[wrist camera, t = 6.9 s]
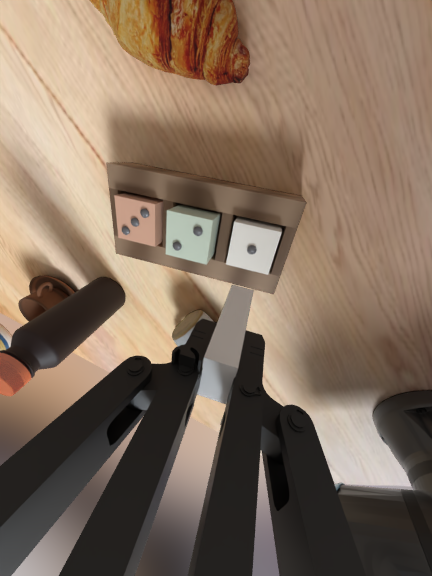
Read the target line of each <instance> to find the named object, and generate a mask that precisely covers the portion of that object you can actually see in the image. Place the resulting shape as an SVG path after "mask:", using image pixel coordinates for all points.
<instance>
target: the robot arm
mask: <svg viewBox="0 0 432 576" xmlns="http://www.w3.org/2000/svg"><path fill="white" fill-rule="evenodd" d="M253 291H254V290H250V289H247V288H243V287H239V286H235V285H232V286H231V289H230V291H229V294H228V296H227V299H226V302H225V304H224V307H223V309H222V312H221V315H220V317H219V320H218V322H217V323H216V322H213V321H210V320H206V319H201V320H200V321H198V322H197V323H196V325H195V327H194V329H193V330H192V332H191V334H190V336H189V338H188V340H187V342H186V344H184V345H180V346H178V347H176V348H175V349H174V350H173V351H172V362H170V363H167V364H151V361H150V360H149V359H148V358H146V357H143V356H133V357H130V358H128V359H126V360H125V361H124V362H122V363H121V364H120V365H119V366H118V367H116V368H115V369H114V370H113V371H112V372H111V373H109V374H108V375H107V376H106V377H105V378H104V379H103V380H101V381H100V382H99V383H98V384H97V385H95V386H94V387H93V388H92V389H91V390H90V391H88V392H87V393H86V394H85V395H83V396H82V397H81V398H80V399H79V400H78V401H76V402H75V403H74V404H73V405H72V406H71V407H69V408H68V409H67V410H66V411H65V412H63V413H62V414H61V415H60V416H59V417H58V418H56V419H55V420H54V421H53V422H52V423H50V424H49V425H48V426H47V427H46V428H44V429H43V430H42V431H41V432H40V433H39V434H37V435H36V436H35V437H34V438H33V439H32V440H30V441H29V442H28V443H27V444H26V445H25V446H23V447H22V448H21V449H20V450H19V451H17V452H16V453H15V454H14V455H13V456H11V457H10V458H9V459H8V460H7V461H6V462H4V463H3V464H2V465H1V466H0V576H11V575H12V574H13V573H14V572H15V570H16V569H17V568H18V567H19V566H20V564H21V563H22V562H23V561H24V559H25V558H26V557H27V556H28V555H29V553H30V552H31V551H32V550H33V549H34V548H35V546H36V545H37V544H38V542H39V541H40V540H41V539H42V538H43V536H44V535H45V534H46V533H47V532H48V531H49V529H50V528H51V527H52V526H53V525H54V523H55V522H56V521H57V520H58V519H59V517H60V516H61V515H62V514H63V512H64V511H65V510H66V509H67V507H68V506H69V505H70V504H71V503H72V501H73V500H74V499H75V498H76V496H78V494H79V493H80V492H81V491H82V490H83V488H84V487H85V486H86V485H87V483H88V482H89V481H90V480H91V479H92V477H93V476H94V475H95V474H96V473H97V471H98V470H99V469H100V468H101V467H102V465H103V464H104V463H105V462H106V461H107V459H108V458H109V457H110V456H111V455H112V453H113V452H114V451H115V450H116V449H117V447H118V446H119V445H120V444H121V442H122V441H123V440H124V439H125V438H126V436H127V435H128V434H129V433H130V431H131V430H132V429H133V428H134V427H135V425H136V424H137V423H138V422H139V421H140V420H141V418H142V417H143V416H144V417H143V419H142V420H141V422H140V424H139V426H138V428H137V430H136V432H135V434H134V435H133V437H132V439H131V441H130V443H129V445H128V447H127V449H126V451H125V453H124V454H123V456H122V458H121V460H120V462H119V464H118V465H117V467H116V469H115V471H114V473H113V475H112V477H111V479H110V480H109V482H108V484H107V486H106V488H105V490H104V492H103V494H102V496H101V497H100V499H99V501H98V503H97V505H96V507H95V509H94V510H93V512H92V514H91V516H90V518H89V520H88V522H87V524H86V525H85V527H84V529H83V531H82V533H81V535H80V537H79V539H78V540H77V542H76V544H75V546H74V548H73V550H72V552H71V554H70V556H69V557H68V559H67V561H66V563H65V565H64V567H63V569H62V571H61V572H60V575H59V576H135V573H136V570H137V567H138V564H139V562H140V559H141V556H142V553H143V550H144V547H145V544H146V541H147V539H148V536H149V533H150V530H151V527H152V524H153V521H154V518H155V515H156V513H157V510H158V507H159V504H160V501H161V498H162V496H163V492H164V490H165V487H166V484H167V481H168V478H169V475H170V473H171V470H172V467H173V464H174V461H175V458H176V455H177V452H178V450H179V447H180V444H181V441H182V438H183V435H184V432H185V429H186V427H187V424H188V421H189V418H190V415H191V412H192V409H193V406H194V401H195V398H196V395H197V394H198V395H200V396H203V397H206V398H209V399H212V400H215V401H218V402H221V403H224V404H226V408H225V412H224V415H223V418H222V421H221V424H220V425H221V428H220V432H219V437H218V441H217V446H216V450H215V455H214V460H213V464H212V468H211V473H210V477H209V482H208V486H207V491H206V495H205V500H204V504H203V509H202V514H201V518H200V522H199V527H198V531H197V535H196V540H195V545H194V549H193V554H192V558H191V562H190V567H189V572H188V576H252V568H253V552H254V538H255V522H256V508H257V493H258V478H259V477H258V476H259V462H260V450H262V456H263V463H264V470H265V477H266V484H267V491H268V498H269V505H270V511H271V519H272V525H273V532H274V539H275V547H276V554H277V560H278V568H279V574H280V576H432V391H415V392H408V393H403V394H400V395H396V396H393V397H391V398H389V399H387V400H385V401H383V402H382V403H381V404H379V405H378V406H377V408H376V409H375V411H374V413H373V421H374V424H375V426H376V429H377V432H378V434H379V436H380V437H381V439H382V440H383V441H384V442H385V443H386V444H387V445H388V446H389V448H390V449H391V451H392V453H393V454H394V456H395V457H396V459H397V460H398V462H399V463H400V465H401V466H402V467H403V469H404V470H405V472H406V474H407V476H408V478H409V481H410V483H411V486H412V488H413V490H403V489H401V491H400V489H391V488H375V487H364V486H352V485H344V483H338V484H334V481H333V479H332V476H331V473H330V470H329V467H328V464H327V461H326V459H325V456H324V453H323V450H322V447H321V444H320V441H319V438H318V436H317V433H316V430H315V427H314V424H313V422H312V420H311V418H310V416H309V415H308V414H307V413H306V412H305V411H304V410H303V409H301V408H300V407H298V406H295V405H286V406H284V407H283V406H282V405H280V404H279V403H277V402H276V401H274V400H273V399H272V398H271V397H270V396H269V395H268V394H267V393H266V391H265V390H264V387H263V384H262V377H263V363H264V350H265V341H264V339H263V337H262V335H260V334H256V333H253V332H249V331H246V326H247V321H248V316H249V311H250V306H251V301H252V296H253Z"/></svg>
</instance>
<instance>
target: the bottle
mask: <svg viewBox="0 0 432 576" xmlns="http://www.w3.org/2000/svg"><path fill="white" fill-rule="evenodd" d="M124 303H125V294H124V291H123V290H122V288H121V287H120V286H119V285H118V284H117V283H116V282H115V281H113V280H111V279H109V278H106V277H100V278H98V279H96V280H94V281H92V282H91V283H89V284H88V285H86V286H85V287H83V288H81V289H80V290H78V291H77V292H75V293H74V294H72V295H70V296H69V297H67V298H66V299H64V300H63V301H61V302H60V303H58V304H56V305H55V306H53V307H52V308H50V309H49V310H47V311H45V312H44V313H42V314H41V315H39V316H38V317H36V318H34V319H33V320H31V321H30V322H28V323H27V324H25V325H24V326H22V327H20V328H19V329H17V330H16V331H15V333H14V334H13V336H12V340H11V346H10V347H9V348H8V349H6V350H1V351H0V394H2V395H5V396H12V395H14V394H15V393H16V392H17V391H19V390H20V389H21V388H22V387H23V386H24V385H25V384H26V383H27V382H28V381H30V380H31V378H33V376H34V375H35V372H36V371H37V370H38V369H47V368H53V367H56V366H57V365H58V364H59V363H61V361H63V360H64V359H65V358H66V357H67V356H68V355H69V354H70V353H72V352H73V351H74V350H75V349H76V348H77V347H78V346H79V345H80V344H81V343H82V342H84V341H85V340H86V339H87V338H88V337H89V336H90V335H91V334H92V333H93V332H94V331H96V330H97V329H98V328H99V327H100V326H101V325H102V324H103V323H104V322H105V321H106V320H107V319H109V318H110V317H111V316H112V315H113V314H114V313H115V312H116V311H117V310H118V309H119V308H121V307H122V306H123V305H124Z"/></svg>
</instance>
